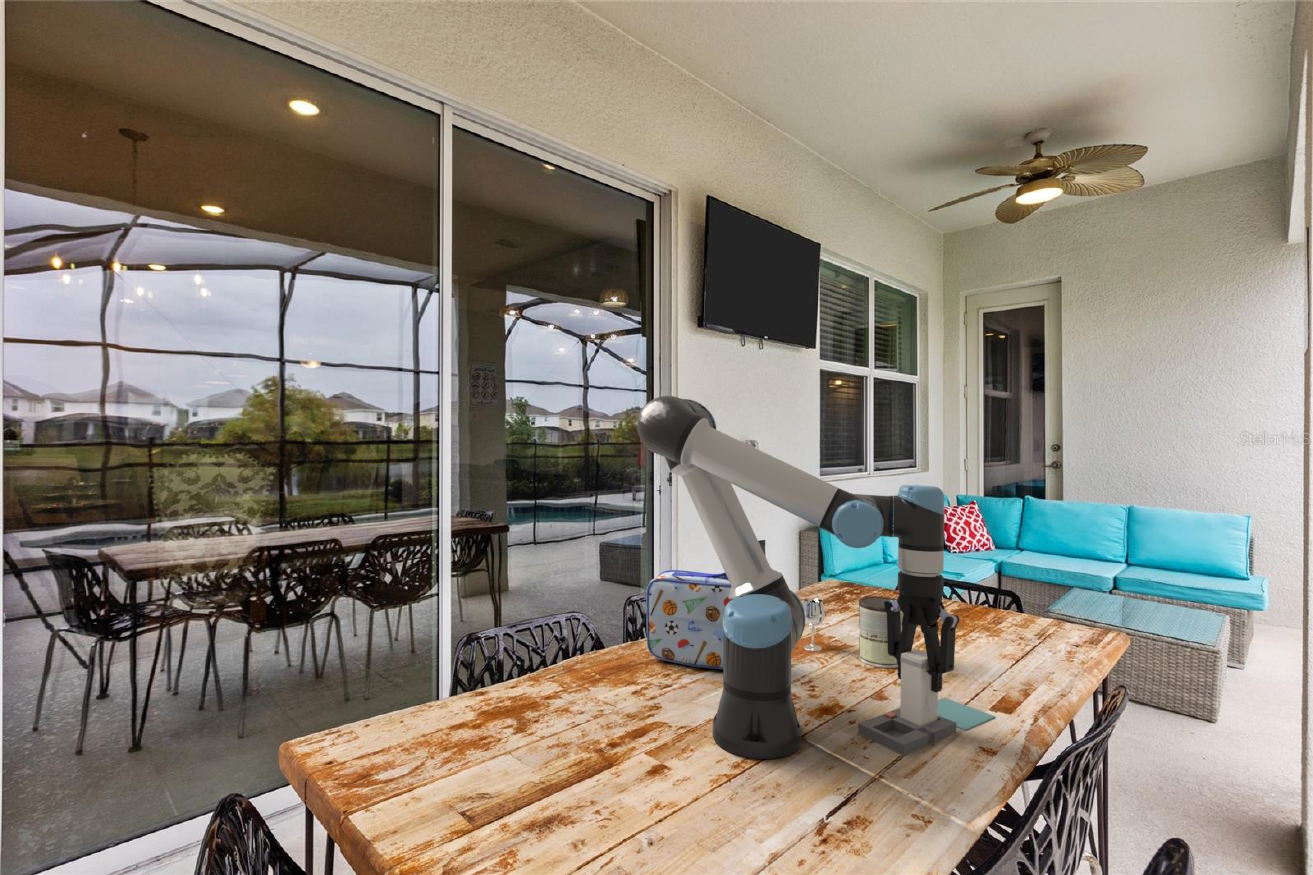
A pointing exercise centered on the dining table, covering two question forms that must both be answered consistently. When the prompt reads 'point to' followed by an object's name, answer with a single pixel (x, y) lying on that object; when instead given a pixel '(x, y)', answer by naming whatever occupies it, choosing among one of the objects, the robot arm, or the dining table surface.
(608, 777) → the dining table surface
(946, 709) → the pad
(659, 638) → the lunch box
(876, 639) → the coffee can
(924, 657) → the block
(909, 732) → the power strip
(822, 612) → the wineglass
